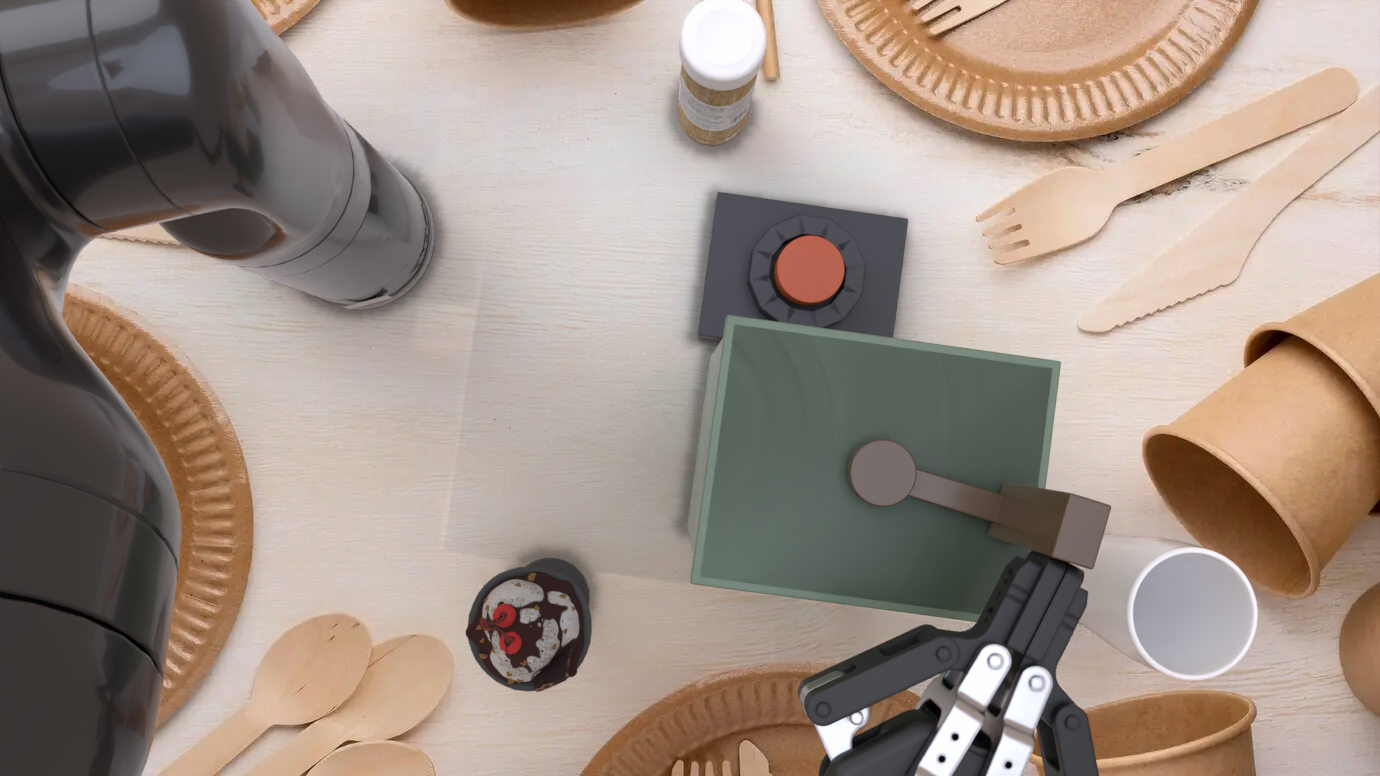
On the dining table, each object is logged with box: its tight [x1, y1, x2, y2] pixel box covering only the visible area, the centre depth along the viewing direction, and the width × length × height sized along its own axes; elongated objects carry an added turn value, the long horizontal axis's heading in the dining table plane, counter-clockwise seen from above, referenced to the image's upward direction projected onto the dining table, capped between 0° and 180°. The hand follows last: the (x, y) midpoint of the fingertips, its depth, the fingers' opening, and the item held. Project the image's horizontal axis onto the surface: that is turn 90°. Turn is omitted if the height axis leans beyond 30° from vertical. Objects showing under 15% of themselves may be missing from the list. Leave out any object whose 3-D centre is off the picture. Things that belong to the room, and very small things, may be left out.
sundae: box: [465, 557, 593, 693], centre depth 59 cm, size 7×7×15 cm
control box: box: [696, 191, 909, 342], centre depth 65 cm, size 12×9×4 cm
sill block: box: [686, 315, 1062, 623], centre depth 56 cm, size 15×12×22 cm
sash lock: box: [846, 439, 1112, 569], centre depth 41 cm, size 8×3×8 cm, turn 73°
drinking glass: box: [1070, 534, 1259, 682], centre depth 60 cm, size 7×7×15 cm
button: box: [774, 236, 845, 306], centre depth 63 cm, size 4×4×2 cm
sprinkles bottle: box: [677, 0, 768, 146], centre depth 61 cm, size 5×5×14 cm
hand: (1058, 559), depth 39 cm, fingers closed
